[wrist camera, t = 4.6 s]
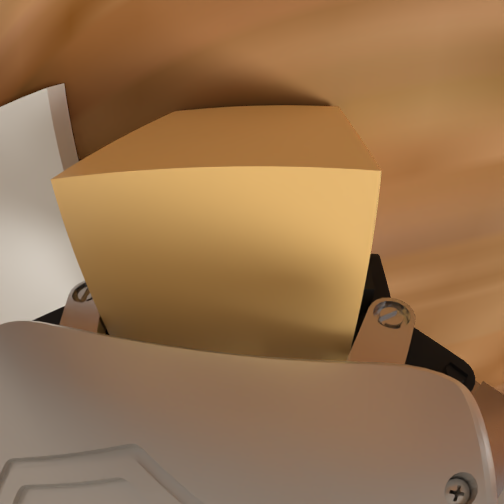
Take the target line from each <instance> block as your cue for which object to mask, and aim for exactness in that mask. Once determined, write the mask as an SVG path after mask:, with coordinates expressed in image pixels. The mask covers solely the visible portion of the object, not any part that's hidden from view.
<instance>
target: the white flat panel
mask: <svg viewBox="0 0 504 504" xmlns="http://www.w3.org/2000/svg"><path fill="white" fill-rule="evenodd" d="M77 162H79V160H78V156H77V152H76V147H75V142H74V137H73V133H72V128H71V122H70V117H69V111H68V105H67V99H66V93H65V86H64V83H63V84H59V85H55V86H52V87H48V88H45V89H42V90H40V91H37V92H35V93H32V94H29V95H27V96H25V97H22V98H20V99H17V100H15V101H13V102H10V103H8V104H6V105H4V106H1V107H0V325H1V324H3V323H7V322H12V321H23V320H30V321H32V320H34V319H37V318H39V317H41V316H43V315H45V314H48V313H50V312H52V311H54V310H57V309H59V308H61V307H63V306H65V304H66V301H67V298H68V295H69V293H70V291H71V290H72V289H73V288H74V286H76V285H77V284H79V283H81V282H83V281H85V279H84V277H83V274H82V272H81V269H80V267H79V264H78V262H77V259H76V256H75V254H74V251H73V248H72V246H71V243H70V240H69V237H68V234H67V231H66V228H65V225H64V222H63V219H62V216H61V213H60V210H59V207H58V203H57V200H56V197H55V193H54V190H53V186H52V183H51V179H52V178H54V177H55V176H57V175H58V174H60V173H61V172H63V171H64V170H66V169H68V168H69V167H71V166H72V165H74V164H76V163H77Z"/></svg>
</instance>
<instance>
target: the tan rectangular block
mask: <svg viewBox="0 0 504 504" xmlns="http://www.w3.org/2000/svg"><path fill="white" fill-rule="evenodd" d="M380 181H381V169H380V168H379V166H378V165H377V163H376V161H375V160H374V158H373V157H372V155H371V153H370V152H369V150H368V149H367V147H366V146H365V144H364V143H363V141H362V140H361V138H360V137H359V135H358V134H357V132H356V131H355V129H354V128H353V126H352V125H351V124H350V122H349V121H348V119H347V118H346V116H345V115H344V114H343V112H342V111H341V109H340V108H339V107H333V106H304V105H265V106H236V107H218V108H204V109H193V110H182V111H174V112H172V113H170V114H168V115H165V116H163V117H161V118H159V119H157V120H155V121H153V122H151V123H149V124H147V125H145V126H143V127H141V128H139V129H137V130H135V131H133V132H131V133H129V134H127V135H125V136H123V137H121V138H119V139H118V140H116V141H114V142H112V143H110V144H108V145H107V146H105V147H103V148H101V149H99V150H98V151H96V152H94V153H93V154H91V155H89V156H87V157H86V158H84V159H82V160H81V161H79V162H77V163H76V164H74V165H72V166H71V167H69V168H68V169H66V170H64V171H63V172H61V173H60V174H58V175H57V176H55V177H54V178H52V179H51V183H52V186H53V190H54V193H55V197H56V200H57V203H58V207H59V210H60V213H61V216H62V219H63V222H64V225H65V228H66V231H67V234H68V237H69V240H70V243H71V246H72V248H73V251H74V254H75V256H76V259H77V262H78V264H79V267H80V269H81V272H82V274H83V277H84V279H85V282H86V284H87V287H88V289H89V291H90V294H91V296H92V298H93V301H94V303H95V305H96V307H97V310H98V312H99V314H100V316H101V318H102V320H103V323H104V325H105V327H106V329H107V331H108V333H109V335H110V336H116V337H121V338H127V339H133V340H138V341H145V342H151V343H157V344H164V345H170V346H177V347H184V348H192V349H200V350H208V351H216V352H225V353H235V354H245V355H255V356H267V357H280V358H294V359H312V360H330V361H346V360H347V357H348V355H349V353H350V349H351V345H352V341H353V337H354V333H355V328H356V324H357V320H358V315H359V310H360V306H361V301H362V296H363V291H364V286H365V281H366V276H367V270H368V265H369V259H370V253H371V247H372V241H373V235H374V228H375V221H376V214H377V206H378V198H379V190H380Z"/></svg>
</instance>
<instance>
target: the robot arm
mask: <svg viewBox="0 0 504 504" xmlns="http://www.w3.org/2000/svg"><path fill="white" fill-rule="evenodd" d="M414 325H415V314H414V311H413V310H412V308H411V307H410V306H409V305H408V304H406V303H405V302H403V301H401V300H398V299H395V298H391V297H390V293H389V289H388V285H387V281H386V277H385V274H384V270H383V266H382V263H381V259H380V256H379V255H378V254H370V259H369V265H368V270H367V276H366V281H365V286H364V291H363V296H362V301H361V306H360V310H359V315H358V320H357V324H356V328H355V333H354V337H353V341H352V345H351V349H350V353H349V355H348V357H347V360H346V361H330V360H312V359H294V358H280V357H267V356H255V355H245V354H235V353H225V352H216V351H208V350H200V349H192V348H184V347H177V346H170V345H164V344H157V343H151V342H145V341H138V340H133V339H127V338H121V337H116V336H110V335H109V333H108V331H107V329H106V327H105V325H104V323H103V320H102V318H101V316H100V314H99V312H98V310H97V307H96V305H95V303H94V301H93V298H92V296H91V294H90V291H89V289H88V287H87V284H86V282H85V281H83V282H81V283H79V284H77V285H76V286H74V288H73V289H72V290H71V291H70V293H69V295H68V298H67V301H66V304H65V306H63V307H61V308H59V309H57V310H54V311H52V312H50V313H48V314H45V315H43V316H41V317H39V318H37V319H34V320H32V321H30V320H23V321H12V322H7V323H3V324H1V325H0V504H504V395H503V394H502V393H500V392H499V391H497V390H496V389H494V388H493V387H491V386H490V385H488V384H487V383H485V382H484V381H483V382H482V383H481V384H479V383H478V382H476V381H475V375H474V372H473V370H472V368H471V367H470V366H469V365H468V364H467V363H466V362H465V361H464V360H462V359H461V358H459V357H458V356H456V355H455V354H453V353H452V352H450V351H449V350H447V349H446V348H444V347H443V346H441V345H440V344H438V343H437V342H435V341H434V340H432V339H431V338H429V337H428V336H426V335H425V334H423V333H422V332H420V331H419V330H417V329H416V328H414Z"/></svg>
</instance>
